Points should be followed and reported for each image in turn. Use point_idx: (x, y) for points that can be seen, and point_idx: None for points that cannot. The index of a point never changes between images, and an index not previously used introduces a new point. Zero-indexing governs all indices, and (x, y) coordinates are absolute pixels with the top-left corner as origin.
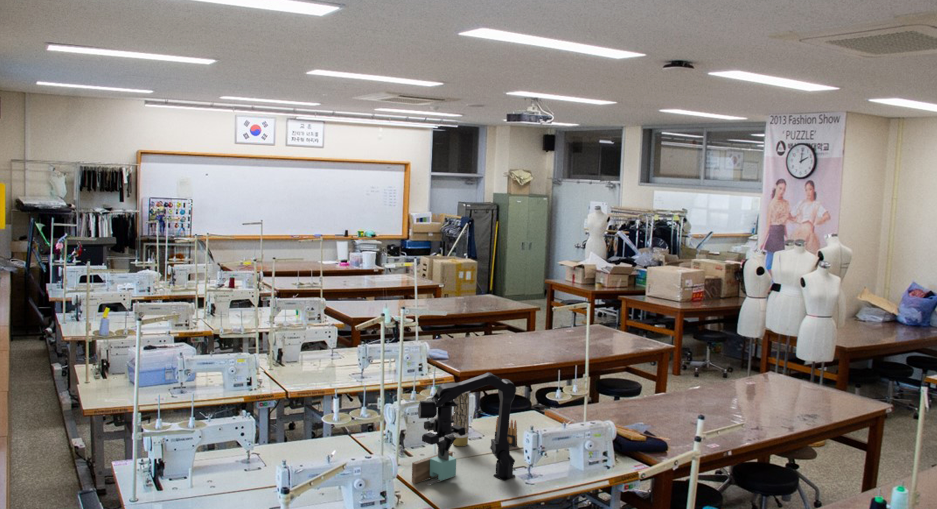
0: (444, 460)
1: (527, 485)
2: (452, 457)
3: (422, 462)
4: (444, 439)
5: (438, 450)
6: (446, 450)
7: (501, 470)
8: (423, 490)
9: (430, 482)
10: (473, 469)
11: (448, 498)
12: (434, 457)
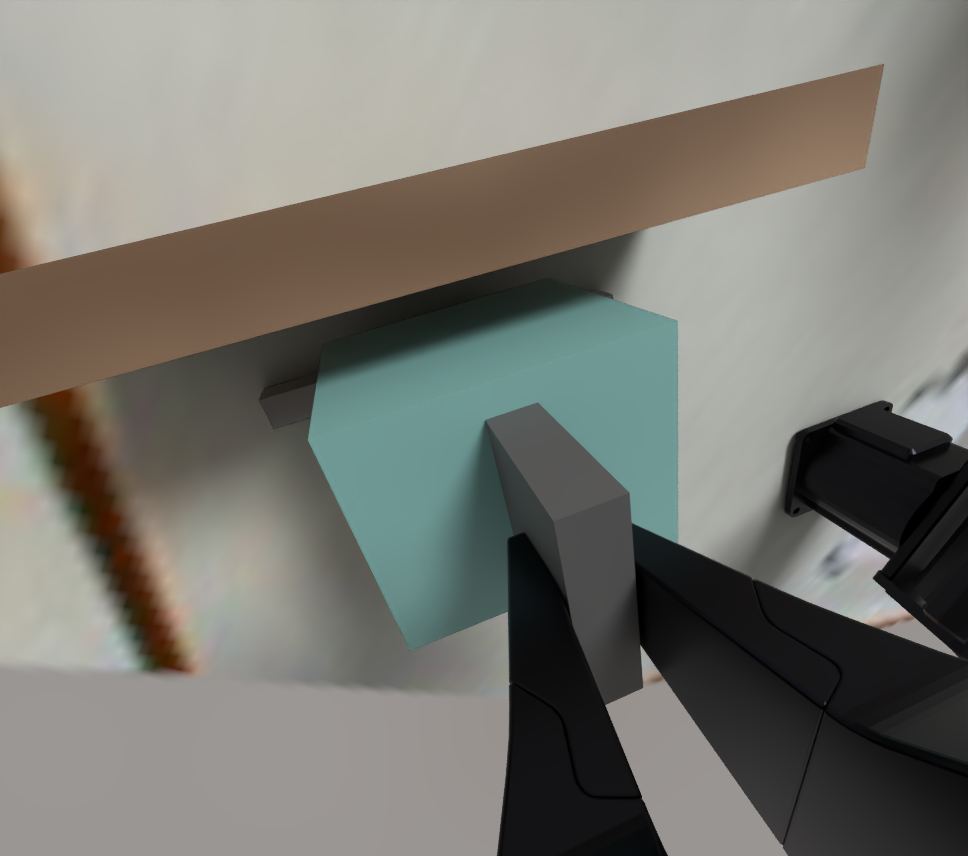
0: (501, 574)
1: (808, 582)
2: (660, 506)
3: (153, 363)
4: (921, 838)
5: (535, 509)
6: (631, 656)
7: (846, 515)
8: (184, 500)
9: (299, 418)
10: (806, 253)
11: (344, 652)
12: (415, 422)
